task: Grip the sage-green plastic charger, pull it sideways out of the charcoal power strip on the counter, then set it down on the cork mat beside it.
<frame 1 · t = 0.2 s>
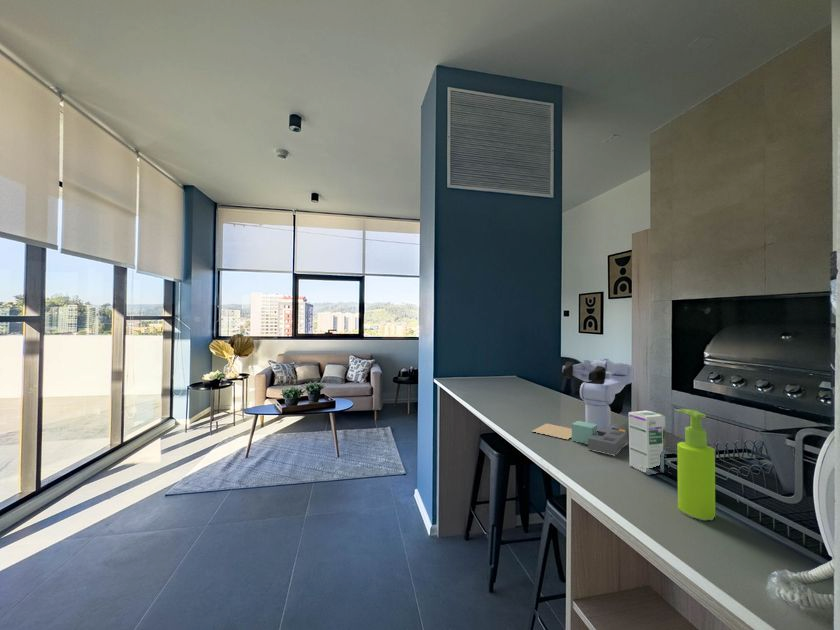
hand: (576, 374, 110), 21 cm above the counter, tool horizontal, fingers open, 7 cm apart
power strip: (608, 446, 106), on the counter
charger: (584, 441, 111), on the counter
soap dispenser: (693, 512, 71), on the counter
syrup box: (647, 471, 90), on the counter
cork mat: (556, 432, 120), on the counter
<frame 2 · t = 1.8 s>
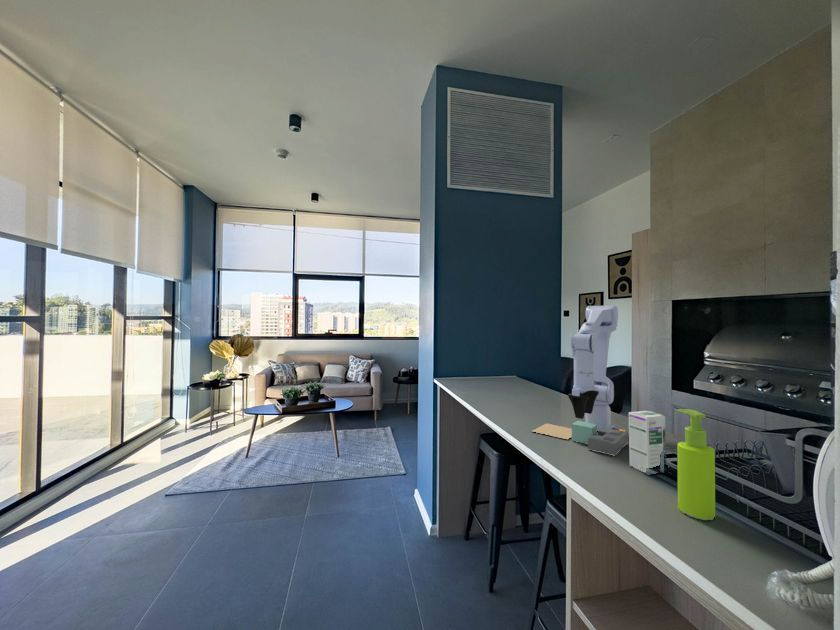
hand: (583, 415, 111), 8 cm above the counter, tool pointing down, fingers open, 7 cm apart
nothing on the counter moved.
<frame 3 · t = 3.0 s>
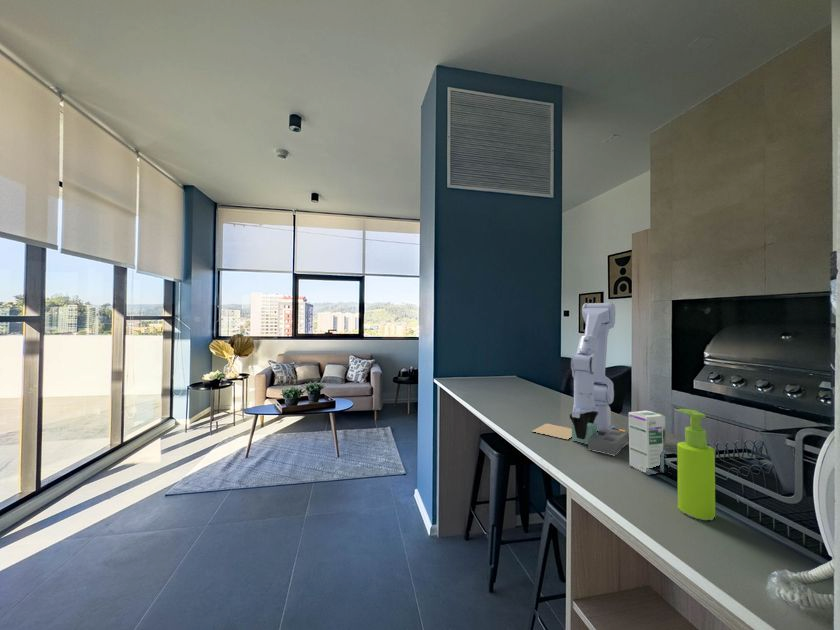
hand: (583, 436, 111), 2 cm above the counter, tool pointing down, fingers closed on charger, 5 cm apart
charger: (584, 441, 111), on the counter, touching gripper
everything else where it was.
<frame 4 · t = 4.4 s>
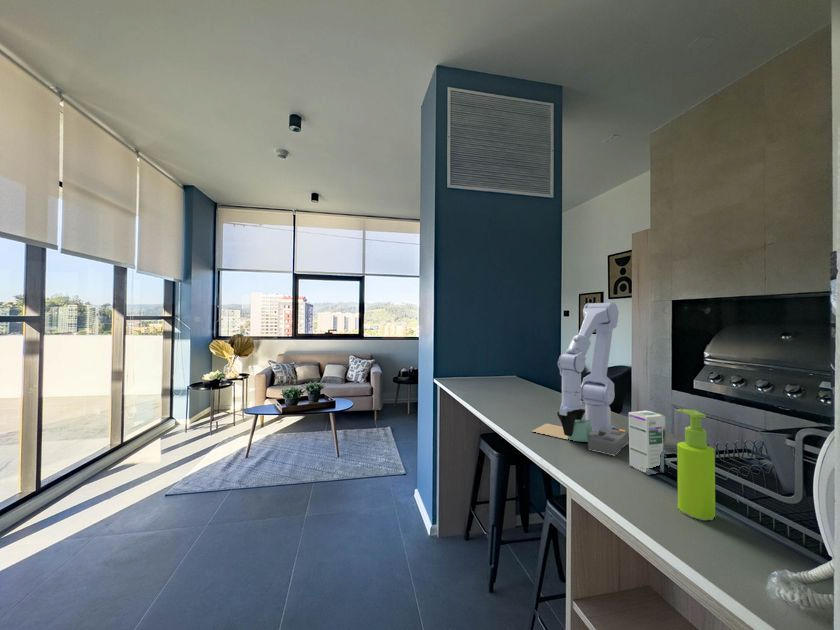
hand: (571, 433, 114), 2 cm above the counter, tool pointing down, fingers closed on charger, 5 cm apart
charger: (580, 439, 112), on the counter, tilted 9°, touching cork mat, gripper
everything else where it was.
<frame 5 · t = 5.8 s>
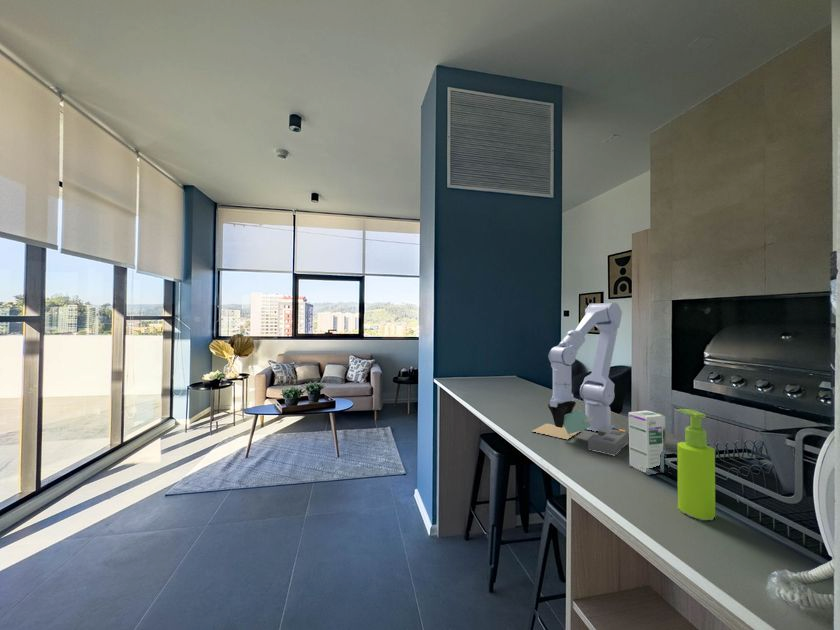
hand: (562, 425, 116), 4 cm above the counter, tool pointing down, fingers closed on charger, 5 cm apart
charger: (579, 430, 112), point 3 cm above the counter, tilted 27°, touching gripper
everything else where it was.
when the fingers open (9 cm above the counter, at t = 6.9 s): charger drops 5 cm, resting on cork mat.
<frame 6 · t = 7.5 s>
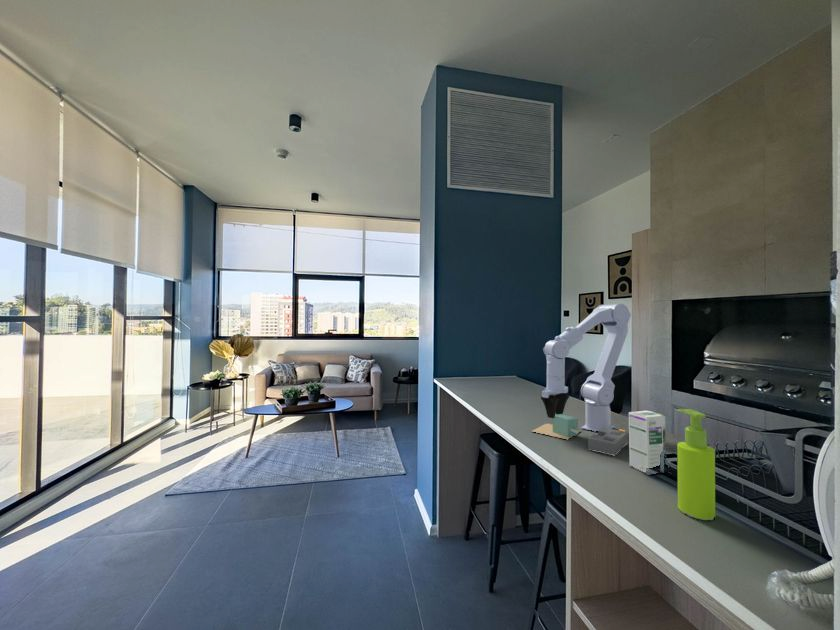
hand: (555, 416, 120), 5 cm above the counter, tool pointing down, fingers open, 5 cm apart
charger: (565, 433, 118), resting on cork mat, touching gripper
everything else where it was.
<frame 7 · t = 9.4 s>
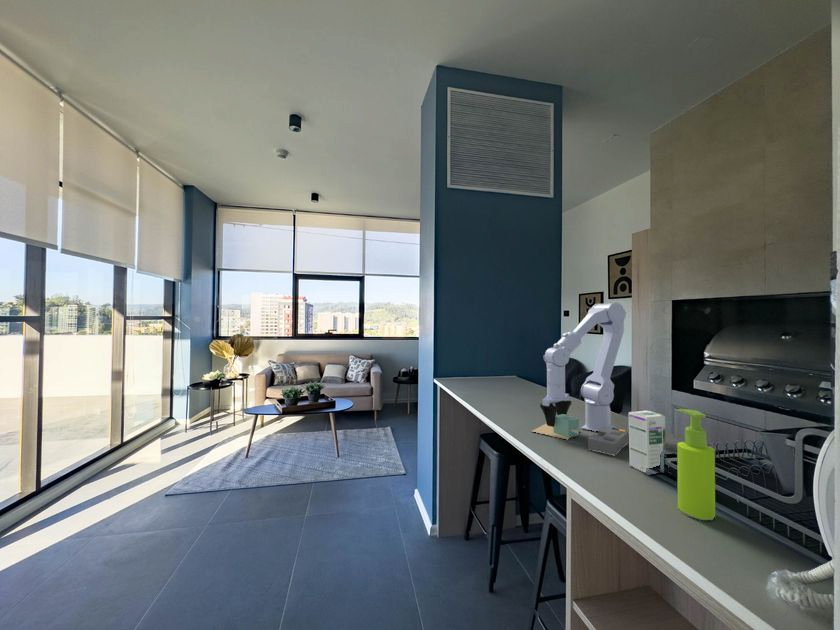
hand: (556, 423, 120), 3 cm above the counter, tool pointing down, fingers open, 7 cm apart
charger: (566, 433, 117), resting on cork mat
everything else where it was.
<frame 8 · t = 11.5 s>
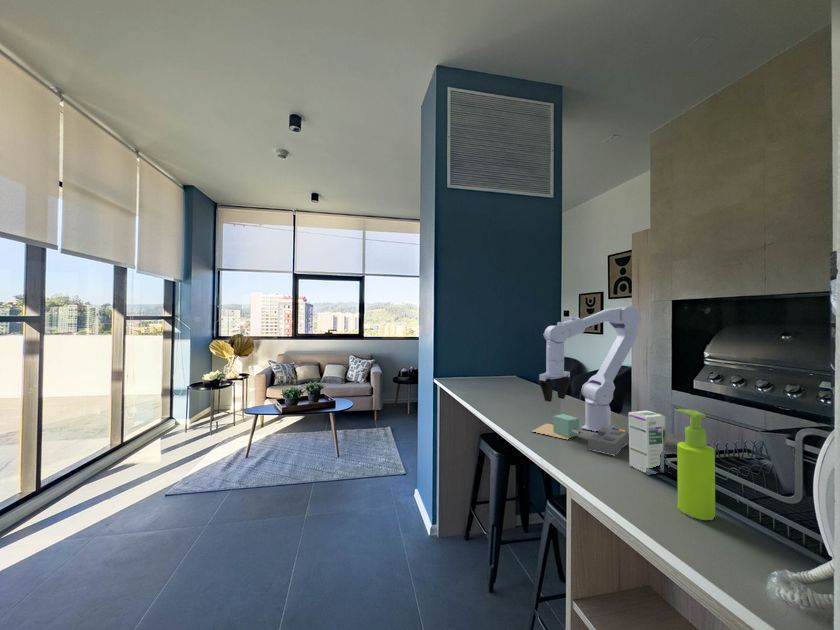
hand: (554, 399, 122), 10 cm above the counter, tool pointing down, fingers open, 7 cm apart
nothing on the counter moved.
at the end: charger inside the target area on the cork mat (3.8 cm from its centre), point 0.4 cm above the cork mat's base; charger touching cork mat; charger tilted 0° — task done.
